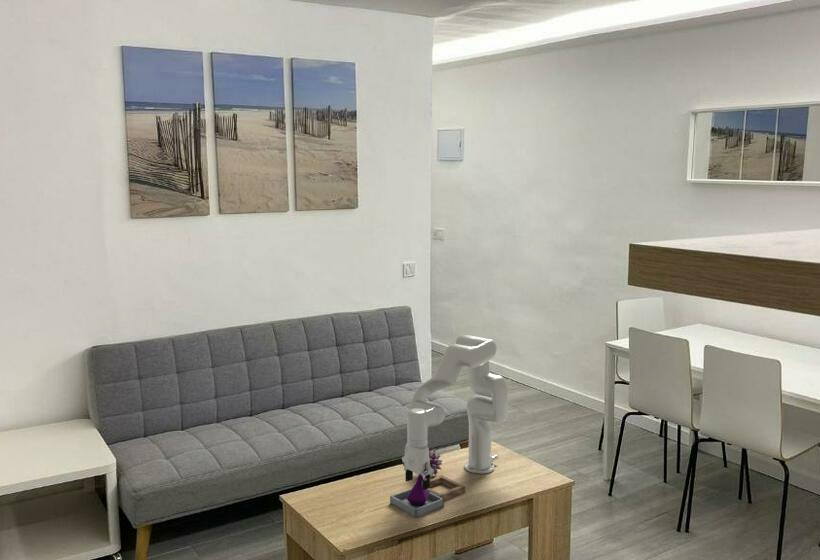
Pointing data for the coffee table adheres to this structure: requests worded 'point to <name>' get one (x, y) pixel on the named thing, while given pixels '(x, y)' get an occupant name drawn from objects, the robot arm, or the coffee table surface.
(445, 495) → the square wooden frame
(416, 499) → the perfume bottle
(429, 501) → the tray
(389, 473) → the coffee table surface
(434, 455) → the flower
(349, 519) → the coffee table surface
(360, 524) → the coffee table surface
